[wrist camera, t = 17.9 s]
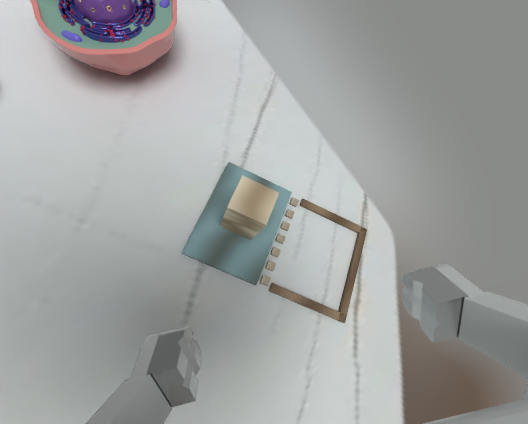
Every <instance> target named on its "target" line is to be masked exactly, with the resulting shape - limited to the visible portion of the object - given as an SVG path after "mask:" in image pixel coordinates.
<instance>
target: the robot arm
mask: <svg viewBox="0 0 528 424" xmlns="http://www.w3.org/2000/svg"><path fill="white" fill-rule="evenodd" d="M402 283H403V284H404V285H405V286H406V287H405V288H404V289H403V291H402V299H403V302H404V305H405V307H406V309H407V310H408V312H409V313H410V314H411V316H412V317H414V318H416V319H418V320H420V321H421V322H420V327H421V328H422V330H423V331H424V332H425V333H426V334H427V336H428V337H429V338H430V339H431V341H432V342H433V343H435V342H439V341H444V340H449V339H454V338H458V339H459V340H461V341H463V342H464V343H466V344H468V345H470V346H471V347H473V348H475V349H477V350H478V351H480V352H482V353H484V354H485V355H487V356H489V357H491V358H492V359H494V360H496V361H497V362H499V363H501V364H503V365H504V366H506V367H508V368H510V369H511V370H513V371H515V372H516V373H518V374H520V375H521V376H523V377H525V378H527V379H528V305H527V304H524V303H521V302H518V301H515V300H512V299H509V298H506V297H503V296H499V295H496V294H493V293H491V292H486V293H484V292H483V291H481V290H480V289H479V288H477V287H476V286H475V285H474V284H472V283H471V282H470V281H468V280H467V279H466V278H465V277H463V276H462V275H461V274H459V273H458V272H457V271H456V270H454V269H453V268H452V267H450V266H449V265H447V264H440V265H436V266H432V267H428V268H424V269H420V270H416V271H412V272H409V273H405V274H403V276H402ZM192 336H193V332H192V330H191V328H190V327H183V328H178V329H174V330H169V331H164V332H161V333H156V334H152V335H148V336H147V337H146V338H145V340H144V343H143V346H142V348H141V351H140V353H139V356H138V359H137V361H136V364H135V367H134V369H133V372H132V374H131V377H130V379H128V380H125V381H124V382H123V383H122V385H121V386H120V387H119V388H118V389H117V390H116V391H115V392H114V393H113V394H112V395H111V397H110V398H109V399H108V400H107V401H106V402H105V403H104V404H103V405H102V406H101V407H100V409H99V410H98V411H97V412H96V413H95V414H94V415H93V416H92V417H91V418H90V419H89V421H88V422H87V423H86V424H163V423H164V421H165V420H166V418H167V416H168V415H169V413H170V411H171V410H172V408H171V407H174V406H178V405H182V404H185V403H189V402H193V401H196V396H197V389H198V379H197V377H196V374H197V372H198V371H199V369H200V366H201V352H200V348H199V345H198V342H197V341H196V340H194V339H192ZM524 398H525V399H523V400H519V401H515V402H511V403H507V404H503V405H499V406H494V407H491V408H486V409H482V410H478V411H474V412H470V413H466V414H461V415H458V416H453V417H449V418H445V419H441V420H437V421H433V422H429V423H425V424H528V382H527V384H526V388H525V390H524Z"/></svg>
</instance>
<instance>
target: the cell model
mask: <svg viewBox="0 0 528 424" xmlns="http://www.w3.org/2000/svg"><path fill="white" fill-rule="evenodd" d="M30 2H31V4H32V6H33V10H34V14H35V18H36V20H37V22H38V24H39V25H40V27H41V28H42V29H43V31H44V32H45V33H46V34H47V35H48V36H49V37H50V39H51V40H52V41H53V43H54V44H55V45H56V46H57V47H58V48H59V49H61V50H62V51H63V52H65V53H66V54H68V55H69V56H71V57H73V58H75V59H76V60H78V61H81V62H83V63H85V64H87V65H89V66H92V67H94V68H97V69H101V70H105V71H110V72H113V73H116V74H120V75H130V74H132V73H134V72H136V71H138V70H140V69H143V68H145V67H147V66H148V65H150V64H152V63H153V62H155V61H156V60H157V59H158V58H160V57H161V56H163V55H164V54H165V53H167V52H168V51H169V50H170V49H171V47H172V45H173V41H174V28H175V26H176V22H177V0H30Z"/></svg>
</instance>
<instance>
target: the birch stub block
mask: <svg viewBox="0 0 528 424" xmlns="http://www.w3.org/2000/svg"><path fill="white" fill-rule="evenodd" d="M278 195H279V192H276V191H274V190H272V189H270V188H268V187H266V186H264V185H262V184H260V183H258V182H256V181H253V180H251V179H249V178H247V177H245V176H243V175H242V177H241V179H240V181H239V184H238V186H237V188H236V190H235V192H234V194H233V196H232V198H231V200H230V202H229V204H228V206H227V209H226V212H225V214H224V217H223V220H222V223H221V225H220V226H221V227H223V228H225V229H227V230H230V231H232V232H234V233H236V234H239V235H241V236H243V237H245V238H247V239H250V240H251V239H252V238H254V237H255V236H256V235H257V234H258V233H259V232H260V231H261V230H262V229H263V228H264V227H265V226H266V225H267V222H268V220H269V217H270V215H271V212H272V210H273V207H274V205H275V202H276V200H277V197H278Z"/></svg>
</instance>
